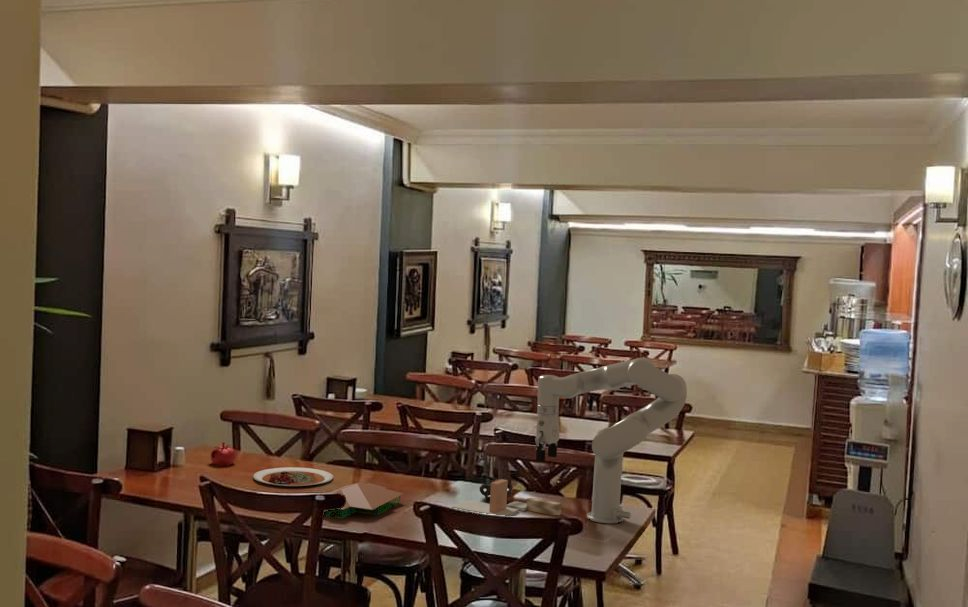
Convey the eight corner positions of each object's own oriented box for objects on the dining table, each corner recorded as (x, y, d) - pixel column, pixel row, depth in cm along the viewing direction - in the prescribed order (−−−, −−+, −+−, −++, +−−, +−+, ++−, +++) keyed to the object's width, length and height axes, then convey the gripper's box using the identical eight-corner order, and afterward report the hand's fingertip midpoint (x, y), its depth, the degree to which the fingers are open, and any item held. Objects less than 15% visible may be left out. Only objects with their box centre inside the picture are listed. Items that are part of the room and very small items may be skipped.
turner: (563, 513, 323) (563, 502, 323) (555, 517, 317) (555, 505, 317) (514, 504, 332) (515, 493, 332) (506, 508, 326) (506, 496, 326)
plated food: (341, 475, 366) (341, 466, 366) (320, 492, 336) (321, 483, 336) (268, 469, 369) (268, 461, 368) (241, 486, 339) (241, 477, 339)
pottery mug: (501, 495, 344) (510, 479, 341) (507, 512, 336) (517, 495, 333) (472, 490, 339) (481, 473, 336) (479, 507, 331) (488, 490, 328)
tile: (506, 508, 321) (507, 480, 320) (495, 513, 314) (497, 484, 313) (499, 507, 322) (501, 479, 322) (489, 511, 315) (490, 483, 315)
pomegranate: (237, 462, 376) (239, 440, 375) (232, 467, 366) (233, 444, 365) (213, 461, 375) (214, 439, 375) (207, 466, 365) (208, 443, 365)
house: (406, 501, 330) (407, 478, 329) (365, 522, 298) (367, 497, 298) (348, 493, 337) (350, 470, 337) (303, 513, 306) (304, 488, 305)
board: (518, 512, 321) (518, 509, 321) (502, 519, 310) (502, 516, 310) (468, 502, 330) (468, 499, 330) (451, 509, 320) (451, 506, 319)
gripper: (547, 414, 313) (545, 464, 313) (567, 408, 328) (566, 456, 329) (527, 412, 317) (526, 461, 317) (548, 406, 332) (547, 454, 332)
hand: (546, 458), depth 323 cm, fingers open, 9 cm apart
